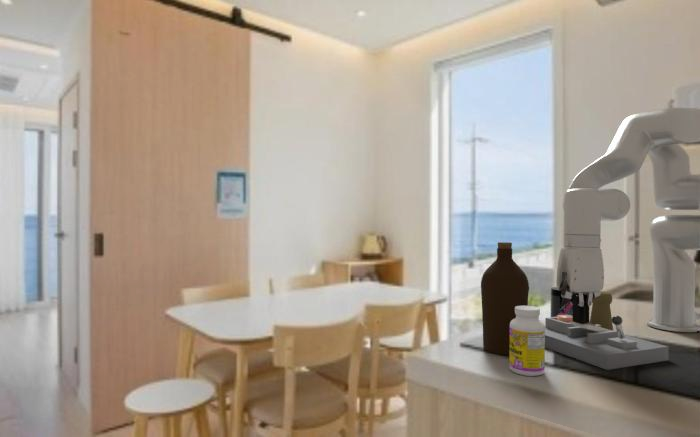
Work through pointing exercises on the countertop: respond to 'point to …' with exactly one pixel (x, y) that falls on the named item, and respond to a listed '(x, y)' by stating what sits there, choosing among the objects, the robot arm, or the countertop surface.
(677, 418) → the countertop surface
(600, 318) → the cork
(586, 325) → the rocker
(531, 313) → the supplement bottle
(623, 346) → the panel
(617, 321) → the toggle lever
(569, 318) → the button
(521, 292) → the olive oil
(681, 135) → the robot arm
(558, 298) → the supplement container
